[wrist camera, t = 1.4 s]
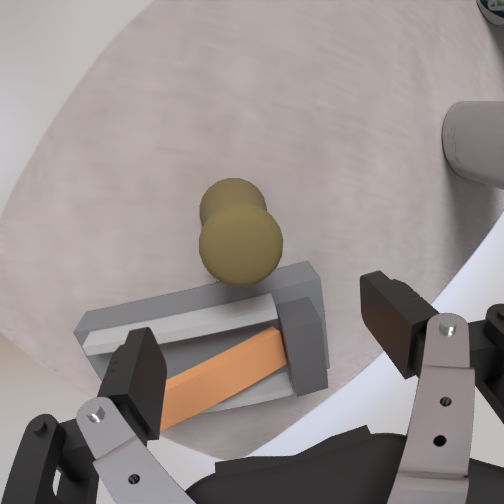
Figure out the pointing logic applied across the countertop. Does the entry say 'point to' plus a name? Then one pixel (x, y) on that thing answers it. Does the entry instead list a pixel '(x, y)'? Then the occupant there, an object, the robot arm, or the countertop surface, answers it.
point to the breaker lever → (221, 376)
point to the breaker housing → (225, 330)
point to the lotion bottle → (493, 10)
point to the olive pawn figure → (238, 233)
